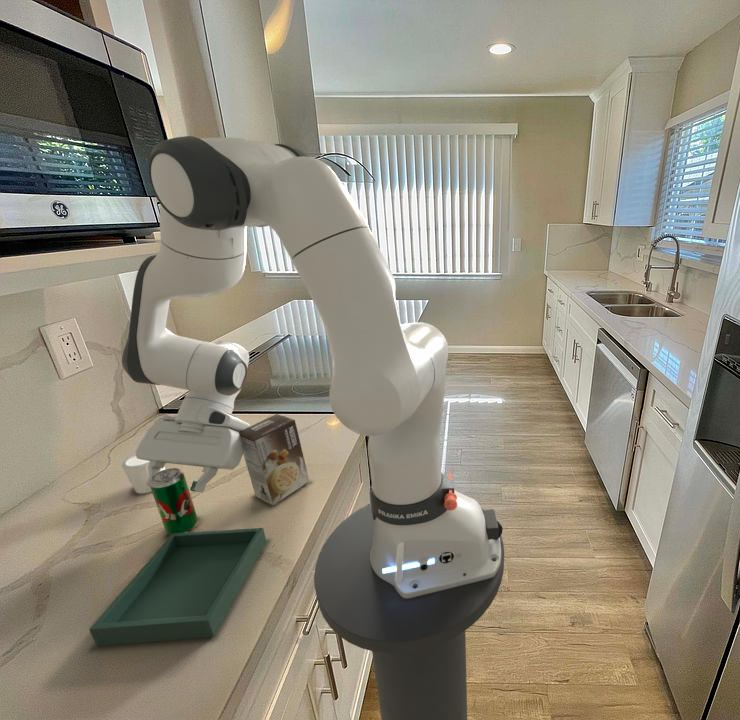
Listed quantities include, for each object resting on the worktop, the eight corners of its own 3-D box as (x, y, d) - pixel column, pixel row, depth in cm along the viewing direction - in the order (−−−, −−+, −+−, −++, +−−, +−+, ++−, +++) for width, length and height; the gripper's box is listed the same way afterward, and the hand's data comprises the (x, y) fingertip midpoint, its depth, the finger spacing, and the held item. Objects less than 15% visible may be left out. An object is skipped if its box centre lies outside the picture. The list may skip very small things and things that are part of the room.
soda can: (198, 514, 79) (183, 463, 75) (198, 529, 75) (182, 477, 71) (167, 524, 77) (149, 472, 73) (165, 541, 73) (146, 487, 69)
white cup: (173, 485, 88) (164, 458, 86) (133, 499, 83) (123, 471, 81) (167, 472, 93) (159, 446, 90) (129, 485, 88) (119, 458, 86)
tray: (266, 541, 73) (263, 527, 71) (213, 636, 56) (208, 620, 55) (177, 547, 71) (172, 533, 70) (96, 646, 55) (88, 629, 54)
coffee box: (292, 473, 92) (277, 412, 86) (310, 481, 89) (296, 419, 83) (254, 496, 84) (235, 432, 78) (272, 507, 81) (255, 440, 75)
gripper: (145, 409, 79) (111, 481, 73) (237, 417, 76) (209, 492, 70) (171, 419, 84) (141, 485, 79) (257, 426, 82) (233, 496, 76)
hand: (174, 489), depth 74 cm, fingers open, 8 cm apart
